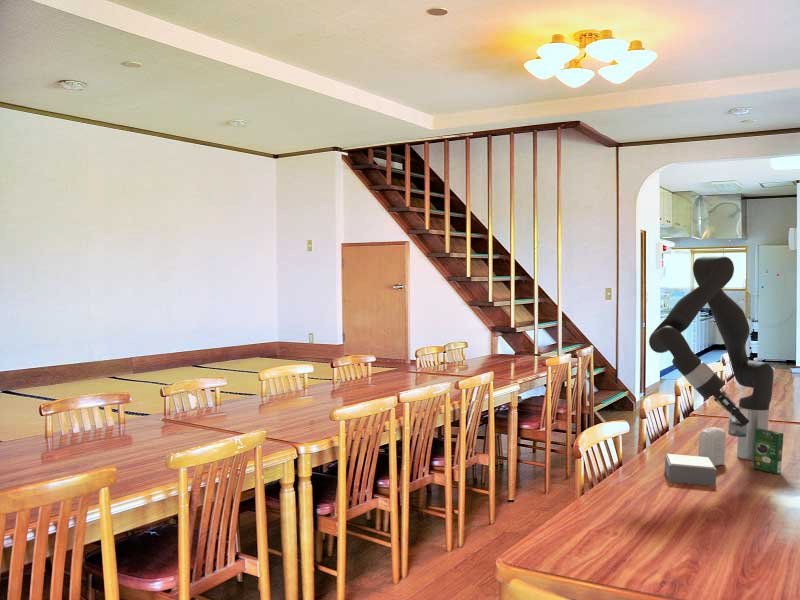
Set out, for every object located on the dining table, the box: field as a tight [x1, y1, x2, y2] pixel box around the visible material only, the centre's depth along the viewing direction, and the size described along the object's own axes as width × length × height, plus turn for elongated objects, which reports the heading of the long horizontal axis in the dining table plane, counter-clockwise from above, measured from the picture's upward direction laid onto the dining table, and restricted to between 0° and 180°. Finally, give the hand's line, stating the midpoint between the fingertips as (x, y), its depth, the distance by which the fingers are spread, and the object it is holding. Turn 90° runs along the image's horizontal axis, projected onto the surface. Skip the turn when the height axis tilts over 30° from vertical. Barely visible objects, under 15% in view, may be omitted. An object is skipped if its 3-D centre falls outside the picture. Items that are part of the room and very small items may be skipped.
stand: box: [664, 453, 717, 487], centre depth 214 cm, size 13×13×6 cm
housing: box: [727, 406, 748, 438], centre depth 211 cm, size 5×5×8 cm
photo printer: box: [698, 426, 727, 467], centre depth 230 cm, size 10×4×12 cm, turn 123°
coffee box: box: [752, 428, 784, 475], centre depth 223 cm, size 8×3×13 cm, turn 33°
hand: (744, 421), depth 211 cm, fingers closed on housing, 5 cm apart
